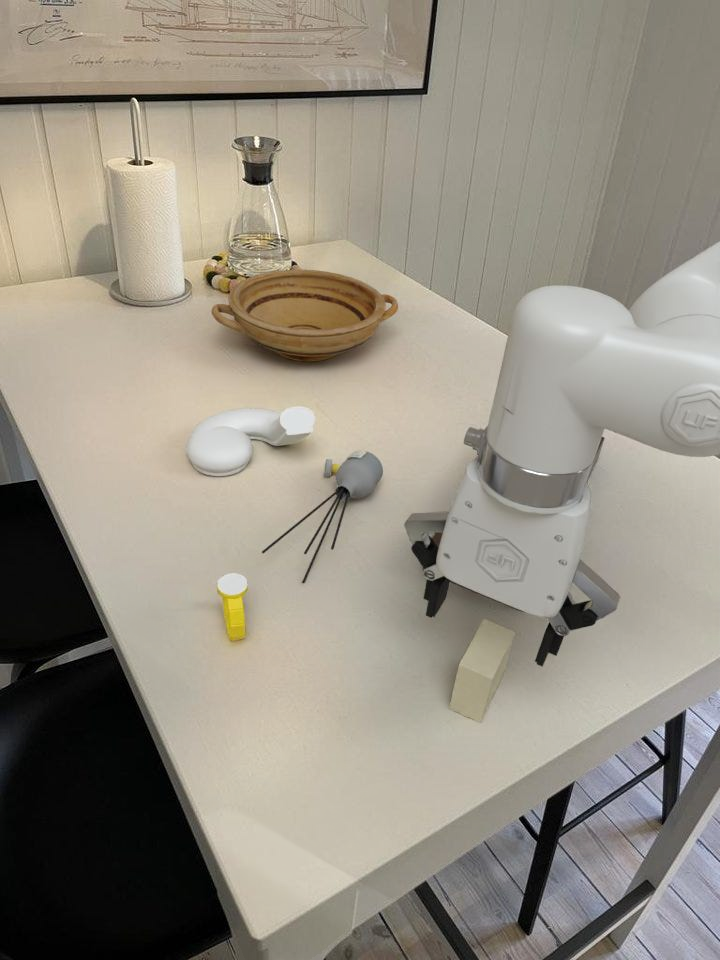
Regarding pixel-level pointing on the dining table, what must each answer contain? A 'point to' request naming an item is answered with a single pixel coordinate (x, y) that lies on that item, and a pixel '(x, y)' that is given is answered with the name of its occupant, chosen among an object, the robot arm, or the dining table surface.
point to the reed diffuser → (345, 490)
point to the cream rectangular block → (481, 670)
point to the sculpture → (243, 436)
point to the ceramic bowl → (305, 312)
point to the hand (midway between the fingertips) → (488, 629)
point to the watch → (233, 603)
